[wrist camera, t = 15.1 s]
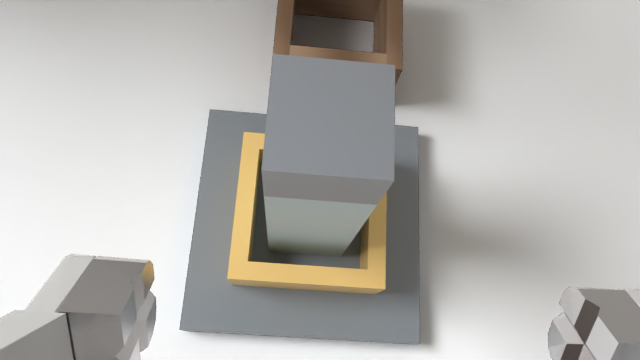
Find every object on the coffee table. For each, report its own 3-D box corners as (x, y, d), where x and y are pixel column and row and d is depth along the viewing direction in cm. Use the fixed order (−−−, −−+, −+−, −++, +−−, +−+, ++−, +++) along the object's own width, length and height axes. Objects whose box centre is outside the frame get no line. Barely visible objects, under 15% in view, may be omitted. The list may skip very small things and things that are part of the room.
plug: (268, 251, 31) (261, 170, 16) (274, 183, 32) (272, 53, 18) (340, 257, 31) (394, 180, 17) (343, 188, 32) (395, 65, 18)
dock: (183, 330, 30) (168, 327, 26) (212, 117, 34) (203, 87, 30) (414, 344, 31) (434, 343, 27) (413, 134, 35) (430, 107, 31)
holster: (273, 96, 35) (272, 57, 31) (282, 1, 38) (282, -49, 33) (385, 106, 36) (402, 69, 31) (387, 11, 38) (402, -36, 34)
